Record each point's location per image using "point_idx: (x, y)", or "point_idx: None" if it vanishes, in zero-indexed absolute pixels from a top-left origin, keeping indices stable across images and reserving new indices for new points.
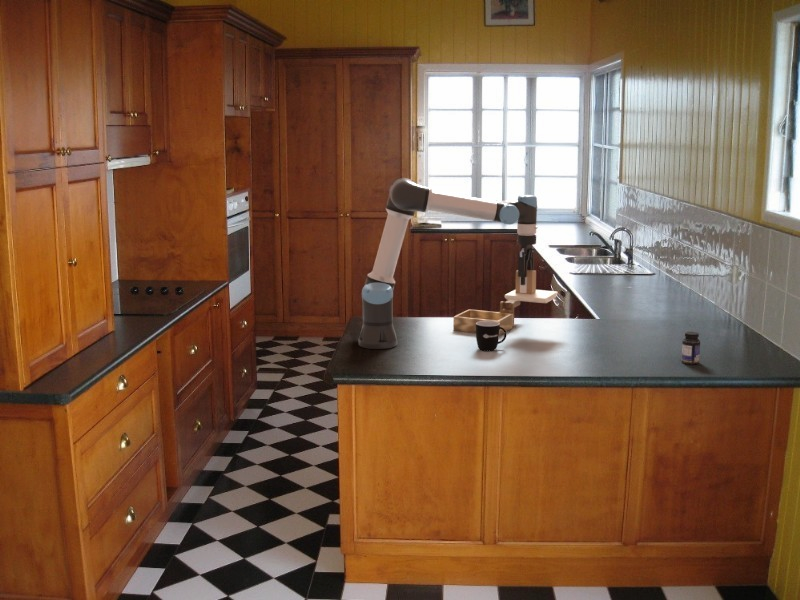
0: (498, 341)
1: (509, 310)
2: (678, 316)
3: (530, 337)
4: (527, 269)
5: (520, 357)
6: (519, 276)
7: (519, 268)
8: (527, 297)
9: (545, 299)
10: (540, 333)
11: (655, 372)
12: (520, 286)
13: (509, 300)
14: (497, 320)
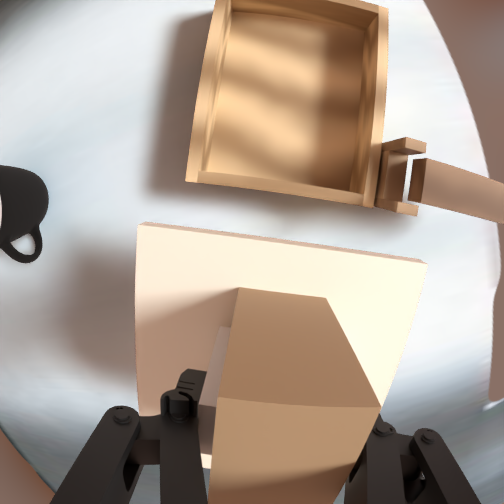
0: (35, 232)
1: (384, 190)
2: (481, 491)
3: None
4: (356, 478)
5: (9, 305)
6: (169, 404)
7: (77, 473)
8: (138, 378)
9: None
10: None
11: None
12: (212, 354)
13: (469, 178)
14: (360, 137)
